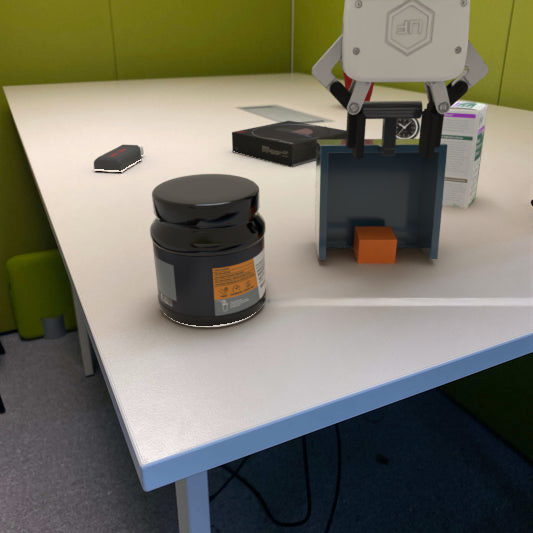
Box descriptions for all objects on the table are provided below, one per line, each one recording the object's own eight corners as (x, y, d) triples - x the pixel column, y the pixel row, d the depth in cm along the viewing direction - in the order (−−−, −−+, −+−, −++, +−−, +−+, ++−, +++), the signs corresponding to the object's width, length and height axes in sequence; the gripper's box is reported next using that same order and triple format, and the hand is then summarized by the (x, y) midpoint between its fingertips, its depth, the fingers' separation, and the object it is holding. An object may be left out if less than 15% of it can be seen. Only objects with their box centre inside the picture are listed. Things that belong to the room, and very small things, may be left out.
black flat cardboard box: (350, 150, 110) (351, 130, 109) (292, 166, 100) (292, 144, 98) (290, 138, 121) (291, 120, 119) (232, 152, 110) (231, 132, 109)
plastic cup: (377, 105, 160) (380, 61, 155) (377, 111, 150) (380, 65, 145) (339, 104, 162) (341, 61, 157) (337, 110, 152) (339, 65, 147)
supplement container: (288, 311, 53) (288, 190, 47) (191, 347, 47) (179, 216, 42) (230, 272, 60) (225, 165, 55) (141, 300, 55) (126, 184, 50)
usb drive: (94, 172, 98) (92, 157, 97) (124, 155, 109) (122, 141, 108) (121, 173, 97) (119, 158, 96) (148, 156, 108) (147, 142, 107)
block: (397, 239, 58) (394, 273, 60) (390, 226, 62) (387, 258, 63) (359, 239, 58) (357, 273, 60) (354, 226, 62) (352, 258, 63)
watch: (383, 182, 91) (388, 114, 86) (381, 169, 98) (386, 105, 93) (417, 183, 90) (425, 114, 85) (413, 169, 97) (420, 106, 92)
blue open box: (317, 100, 60) (324, 101, 51) (433, 98, 60) (461, 100, 50) (314, 247, 65) (320, 274, 56) (421, 247, 65) (445, 274, 55)
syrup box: (466, 217, 75) (483, 108, 69) (423, 211, 78) (435, 105, 71) (474, 205, 79) (490, 102, 73) (433, 199, 82) (445, 99, 76)
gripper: (303, -75, 40) (300, 166, 48) (541, -79, 40) (498, 165, 47) (300, -63, 47) (297, 146, 55) (503, -67, 47) (471, 146, 54)
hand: (391, 153), depth 51 cm, fingers closed on blue open box, 5 cm apart
